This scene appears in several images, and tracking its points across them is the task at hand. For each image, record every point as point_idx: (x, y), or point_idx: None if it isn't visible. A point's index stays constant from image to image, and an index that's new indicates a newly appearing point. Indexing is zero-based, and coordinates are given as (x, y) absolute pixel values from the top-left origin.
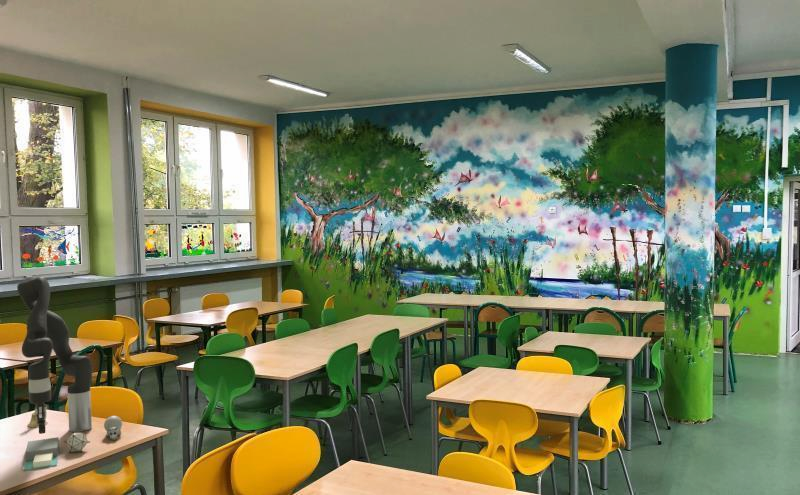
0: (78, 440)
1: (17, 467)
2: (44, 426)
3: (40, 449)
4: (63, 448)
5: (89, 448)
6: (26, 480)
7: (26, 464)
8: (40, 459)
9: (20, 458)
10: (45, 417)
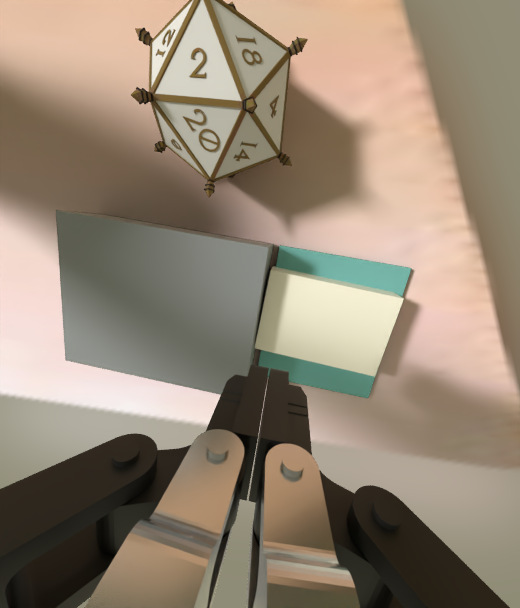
0: (276, 83)
1: None
2: (286, 420)
3: (244, 333)
4: (139, 196)
5: None
6: (510, 406)
7: (299, 377)
8: (351, 340)
9: None
10: (345, 586)
